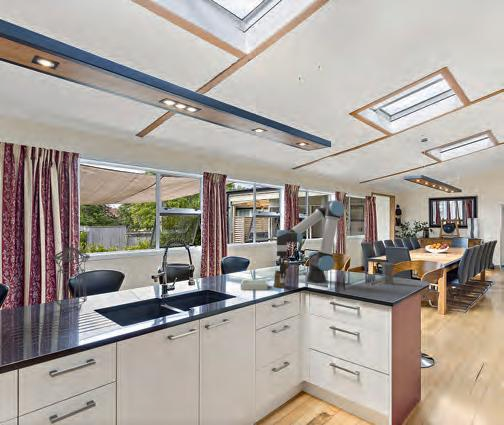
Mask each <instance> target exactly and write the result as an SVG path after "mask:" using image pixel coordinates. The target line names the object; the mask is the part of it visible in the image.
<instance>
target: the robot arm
mask: <svg viewBox="0 0 504 425" xmlns="http://www.w3.org/2000/svg"><path fill="white" fill-rule="evenodd" d="M344 213H345V205H344V203H343V202H342V201H340V200H328V201H325V202H323V203H322V204H321V205H320V206H319V207H317V208H316V209H315V211H314V212H312V213H311V214H310V215H308V216H307V217H306V218H304V219H303V220H302V221H300V222H298V223H297V224H296V225H295V226H293V227H292V228H291V229H290V230H287V229H277V231H276V245H275V248H276V257H279V258H278V262H279V263H278V264H279V271H280V273H279V274H280V283H284V281H285V280H284V263H285V258H284V257H287V256H288V255H287V254H288V252H287V251H288V243H291V244H292V243H294V244H295V243H296V244H298V243H302V242H303V240H304V239H303V233H304V232H305V231H307V230H308V229H310V228H311V227H312V226H314V225H315V224H316V223H317V222H319V221H320V220H324V219H325V223H324V224H325V225H324V230H323V235H322V240H321V244H320V249H319V250H317V251H314V252H313V251H312V252H309V254H308V274H307V277H306V281H307V282H310V283H325V282H327V278H326V277H327V276H326V273H325V272H328V271H330V270H332V269H333V267H334V266H335V260H334V254H333V252H332V251H333V247H334V242H335V236H336V231H337V226H338V221H341V217H342V215H343V214H344Z"/></svg>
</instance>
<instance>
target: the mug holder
mask: <svg viewBox="0 0 504 425" xmlns="http://www.w3.org/2000/svg"><path fill="white" fill-rule="evenodd" d="M268 287H269V281H268V279H267V280H266V279H265V280H264V279H261V280H260V279H242V281H241V282H240V290H244V291H245V290H254V291H255V290H257V291H259V290H263V291H265V290H266V291H267V290H268Z"/></svg>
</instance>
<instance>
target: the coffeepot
mask: <svg viewBox="0 0 504 425" xmlns="http://www.w3.org/2000/svg"><path fill="white" fill-rule="evenodd" d="M385 261H386V262H380V261H377V262H376V263H375V266H376V269H377V272H378V273H380V274H381V273H382V276H381V277H382V278H381V281H380V282H381V283H380V284H382V283H383V285H388V284H391V285H394V279H393V273H394V272H393V270H394V269H395V267H396V266H397V265H396V264H395V263H392V262H390V261H389V259H386V260H385ZM379 265H380V266H381V271H380V266H379Z"/></svg>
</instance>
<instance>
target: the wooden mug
mask: <svg viewBox="0 0 504 425" xmlns="http://www.w3.org/2000/svg"><path fill="white" fill-rule="evenodd" d="M289 266H290V261H289V260H288V261H286V262H284V283H280V274H279V273H280V270H275V271H274V280H273V286H272V287H274V288H276V289H278V288H280V289H281V288H286V281H285V279H286V277H287V270H286V269H288V268H289Z"/></svg>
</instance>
